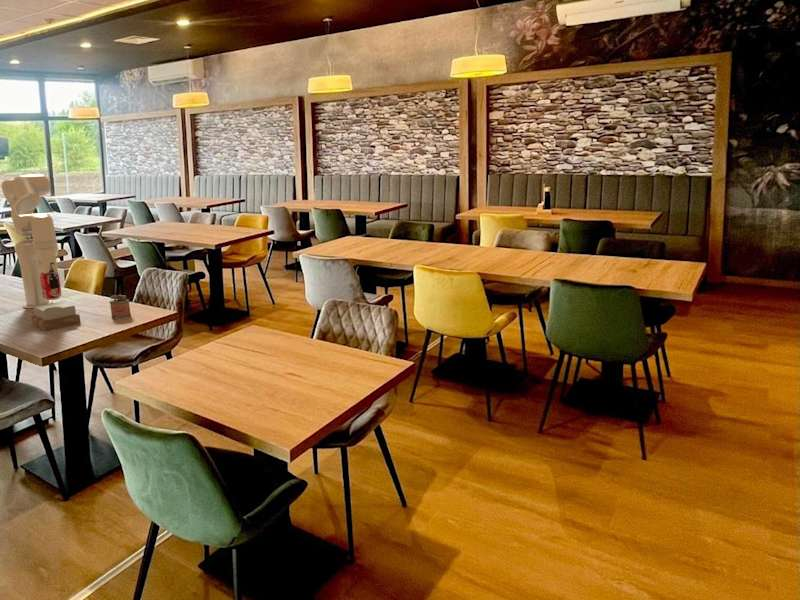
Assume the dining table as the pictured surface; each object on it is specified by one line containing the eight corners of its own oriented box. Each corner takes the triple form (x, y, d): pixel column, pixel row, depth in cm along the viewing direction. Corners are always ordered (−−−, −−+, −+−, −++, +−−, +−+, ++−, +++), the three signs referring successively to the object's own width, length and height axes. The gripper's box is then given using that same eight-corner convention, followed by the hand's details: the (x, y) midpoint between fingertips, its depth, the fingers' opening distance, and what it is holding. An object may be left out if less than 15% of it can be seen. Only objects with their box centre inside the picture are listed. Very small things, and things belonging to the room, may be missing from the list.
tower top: (34, 315, 270) (33, 306, 269) (64, 310, 279) (62, 301, 278) (46, 320, 262) (44, 311, 261) (75, 314, 271) (74, 305, 270)
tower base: (32, 325, 271) (31, 316, 270) (66, 317, 281) (65, 309, 280) (46, 331, 262) (44, 321, 261) (80, 323, 272) (79, 314, 271)
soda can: (65, 296, 272) (61, 269, 269) (55, 300, 265) (51, 272, 262) (50, 296, 272) (46, 268, 269) (39, 300, 266) (35, 272, 263)
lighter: (131, 315, 284) (129, 293, 281) (130, 317, 280) (127, 295, 278) (112, 316, 282) (109, 294, 279) (111, 318, 279) (108, 296, 276)
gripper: (26, 244, 266) (33, 286, 270) (43, 248, 255) (49, 291, 259) (45, 242, 271) (52, 282, 276) (62, 246, 260) (69, 288, 265)
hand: (51, 286), depth 267 cm, fingers closed on soda can, 7 cm apart
